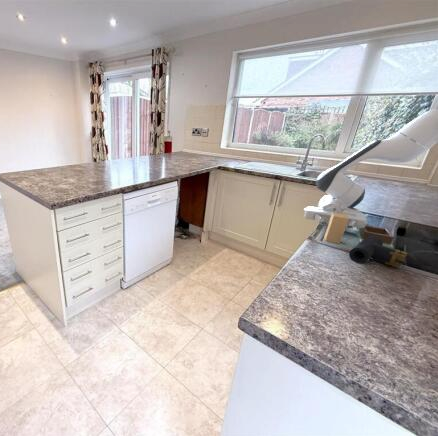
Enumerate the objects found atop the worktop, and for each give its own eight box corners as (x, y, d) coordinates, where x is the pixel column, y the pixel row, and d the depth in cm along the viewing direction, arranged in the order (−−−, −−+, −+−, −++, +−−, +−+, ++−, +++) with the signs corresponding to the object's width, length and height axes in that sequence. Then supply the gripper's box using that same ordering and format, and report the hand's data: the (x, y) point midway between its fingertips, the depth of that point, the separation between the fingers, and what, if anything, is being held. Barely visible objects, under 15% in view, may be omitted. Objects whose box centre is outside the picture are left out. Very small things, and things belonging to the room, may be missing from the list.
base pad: (354, 231, 100) (358, 222, 98) (383, 236, 96) (387, 227, 94) (360, 243, 90) (364, 233, 89) (392, 249, 86) (397, 239, 85)
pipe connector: (412, 246, 78) (400, 260, 69) (405, 260, 80) (393, 276, 71) (366, 233, 86) (351, 244, 78) (361, 246, 88) (346, 259, 80)
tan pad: (324, 236, 95) (332, 212, 91) (338, 239, 93) (347, 214, 89) (325, 240, 91) (333, 216, 88) (339, 243, 89) (349, 218, 85)
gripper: (305, 201, 108) (306, 210, 97) (364, 210, 98) (372, 221, 87) (301, 214, 110) (301, 225, 99) (358, 224, 101) (366, 237, 90)
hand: (335, 223), depth 93 cm, fingers open, 8 cm apart
